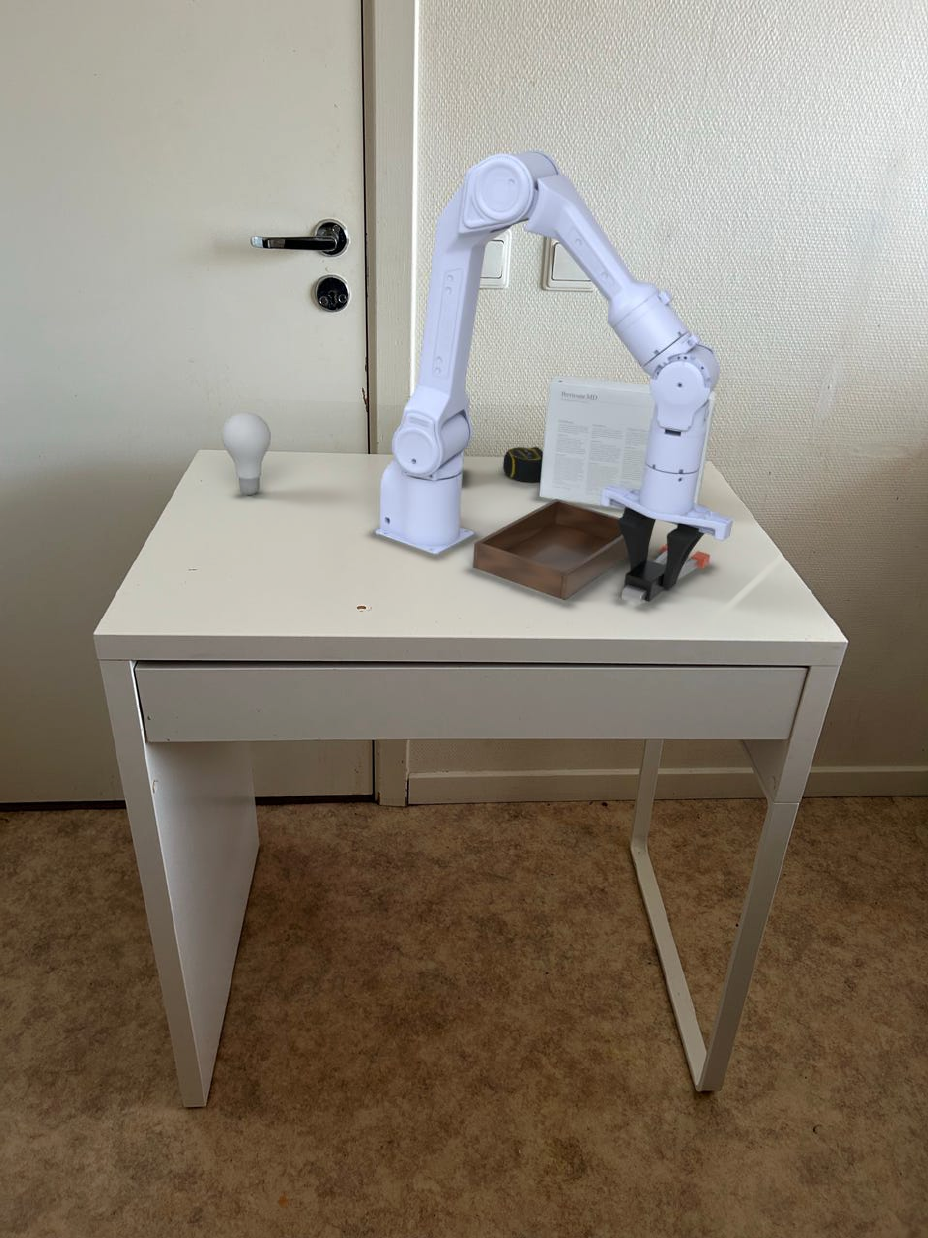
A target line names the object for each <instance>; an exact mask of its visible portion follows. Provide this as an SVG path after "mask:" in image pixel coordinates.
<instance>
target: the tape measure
mask: <svg viewBox="0 0 928 1238" xmlns="http://www.w3.org/2000/svg"><path fill="white" fill-rule="evenodd" d="M542 460H543V449H541V448H540V447H538V446H533V447H524V446H519V447H518V446H517V447H512V448H509V449H508V450H507V451H506V452H505V455H504V456H503V461H502V467H503V471H504V473H505V475H506V476H507V477H509V478H511V479H513V480H515V481H519V482H524V483H537V482H541V471H542Z"/></svg>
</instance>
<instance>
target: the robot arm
mask: <svg viewBox="0 0 928 1238" xmlns="http://www.w3.org/2000/svg"><path fill="white" fill-rule="evenodd" d="M464 175H465V177H464V180H463V182H462V183H461V184H460V186H459V188H458V189H457V191H456V192H455V193H454V195H453V196H452V197H451V199H450V201H448V203H447V205H446V206H445V207H444V208H443V210H442V212H441V213H440V215H439V216H438V219H437V224H436V230H435V237H434V238H435V239H434V246H433V254H432V255H433V256H432V263H431V271H430V279H429V287H428V294H427V303H426V311H425V319H424V326H423V328H424V329H423V336H422V344H421V351H420V360H419V369H418V377H417V385H416V388H415V389H414V391H413V393H412V394H411V395H410V398H409V399H408V401H407V402H406V404H405V406H404V408H403V411H402V419H401V421H400V424H399V426H398V428H397V429H396V430H395V432H394V434H393V436H392V439H391V451H392V455H393V458H394V459H393V460H391V462H389V463H388V464H387V466H386V467H385V469H384V470H383V473H382V475H381V478H380V483H379V528H378V529H376V530H375V535H377V536H378V535H381V536H384V537H387V538H389V539H392V540H394V541H397V542H401V543H404V544H405V545H409V546H411V547H413V548H417V549H419V550H422V551H425V552H428V553H431V554H435V555H437V554H440V553H442V552H443V551H445V550H447V549H449V548H451V547H453V546H454V545H457V544H459V543H460V542H462V541H464V540H466V539H468V538H470V537H472V536H473V535H475V532H474V531H473V530H470V529H466V528H464V527H461V526H460V525H461V509H462V491H463V489H462V488H463V480H462V470H463V471H464V464H462V452H463V451H464V452H465V451H466V450H467V448H468V447H469V446H470V444H471V443H472V439H473V425H472V421H471V417H470V403H471V400H470V397H469V395H468V393H467V391H465V389H464V387H465V381H466V382H467V373H468V367H469V359H470V354H471V346H472V339H473V334H474V328H475V327H474V326H475V320H476V312H477V306H478V301H479V294H480V286H481V280H482V272H483V267H484V260H485V253H486V247H487V245H488V244H489V243H490V242H491V241H493V240H495V239H496V238H498V237H499V236H500V235H502V234H504V233H505V232H506V231H508V230H509V229H511V227H513V226H515V225H517V224H518V225H519V224H521V223H524V222H526V224H525V225H524V227H523V231H524V232H526V233H529V234H530V233H531V234H534V235H538V236H542V237H545V238H549V239H552V240H556V241H557V242H558V243H559V244H560V245H561V246H562V247H563V249H564V250H565V251H566V252H567V254H568V255H569V256H570V257H571V258H572V260H573V261H574V262H575V263H576V265H577V266H578V267H579V268H580V269H581V271H582V272H583V273H584V275H585V276H586V277H587V278H588V279H589V281H590V282H591V283H592V284H593V285H594V287H595V288H596V289H597V291H599V292H600V294H601V295H602V296H603V298H604V299H605V300H606V301H607V303H608V312H607V323H608V325H609V326H610V328H611V329H612V330H613V332H614V333H615V334H616V336H617V337H618V338H619V340H620V341H621V342H622V344H623V345H624V346H625V348H626V349H627V351H628V352H629V353H630V355H631V356H632V357H633V359H634V360H635V361H636V363H637V364H638V366H639V367H641V370H642V371H643V372H644V373H645V374H647V375H649V376H650V377H651V378H652V379H650V380H649V385H650V391H651V395H652V397H653V399H654V401H655V406H654V413H653V418H652V419H651V424H650V430H649V437H648V444H647V451H646V458H645V464H644V471H643V477H642V484H641V490H638V489H631V488H625V487H619V486H615V485H611V484H610V485H609V486H607V487H605V488H603V489H602V494H601V502H600V505H599V506H603V507H606V508H609V507H610V508H611V506H614V507H613V508H618V509H621V510H623V513H622V516H621V517H618V518H619V520H618V526H619V528H620V530H621V532H622V535H623V537H624V540H625V543H626V546H627V550H628V554H629V556H628V559H629V560H628V561H629V566H630V571H631V570H632V569H633V568H635V567H636V566H638V565H639V564H640V563H642V562H643V561H644V560H646V559H647V560H648V556H649V549H650V543H651V539H652V534H653V530H654V528H655V523H656V520H657V521H662V522H665V523H669V524H671V525H675V526H677V527H676V528H674V529H672V530H671V531H669V532H668V533H667V534H666V544H667V562H666V563H665V565H666V568H665V573H664V578H663V588H666V589H667V590H670V589H671V588H672V587H674V586H675V585H676V584H677V582H678V581H677V579H678V576H679V574H680V571H681V569H682V567H683V565H684V564H686V561H687V559H688V558H689V556H690V554H691V553H692V552H693V550H694V548H695V547H696V545H697V544H698V543H699V542H700V540H701V539H702V538H703V536H704V535H705V534H706V535H709V536H713V539H714V540H716V541H720V542H724V541H725V540H726V539H728V538H729V537H730V536H731V532H732V527H733V522H734V519H733V518H731V517H727V516H726V515H722V514H720V513H718V512H715V511H714V510H711V509H708V508H707V507H704V506H702V505H700V504H699V503H698V504H696V503H694V498H695V492H696V486H697V481H698V475H699V469H700V464H701V459H702V453H703V447H704V442H705V436H706V431H707V422H706V420H707V418H708V414H709V403H710V400H709V399H708V398H709V395H710V394H711V392H712V391H713V392H714V389H715V388H716V386H717V385H718V382H719V378H720V373H721V368H720V363H719V360H718V358H717V356H716V355H715V351H714V349H713V348H712V347H711V346H710V345H707V344H706V343H703V342H701V341H702V339H701V337H700V336H699V335H698V333H697V331H695V332H693V333H691V331H690V330H689V329H688V327H687V326H686V324H685V323H684V322H683V321H682V319H681V318H680V316H679V315H678V314H677V313H676V310H674V308H673V307H672V305H671V304H670V303H672V302H673V301H674V297H673V295H672V294H671V293H670V291H669V290H668V289H664V290H662V291H661V290H659V288H658V287H657V285H656V284H655V283H652V282H644V281H639V280H637V279H636V278H635V277H634V275H633V274H632V272H631V271H630V269H629V267H628V266H627V265H626V263H625V262H624V260H623V259H622V257H621V256H620V254H619V253H618V251H617V250H616V248H615V246H614V245H613V244H612V241H610V238H609V237H608V236H607V234H606V233H605V232H604V230H603V228H602V226H601V225H600V224H599V222H598V221H597V218H595V216H594V215H593V213H592V212H591V210H590V208H589V207H588V205H587V204H586V203H585V201H584V199H583V198H582V196H581V195H580V192H579V191H578V189H577V187H576V185H575V183H574V182H573V181H572V180H571V179H570V178H569V177H568V176H567V175H566V174H565V173H561V170H560V168H559V166H558V164H557V162H556V161H555V160H554V159H553V158H552V157H551V156H550V155H548V154H547V153H545V152H543V151H540V150H534V149H532V150H525V151H523V152H516V153H507V152H506V153H503V152H501V153H495V154H492V155H490V156H488V157H486V158H484V159H483V160H481V161H480V162H477V164H474V166H472V167H470V168H468V169H467V170H466V171H465V174H464ZM666 589H665V590H666Z"/></svg>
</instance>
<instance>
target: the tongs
mask: <svg viewBox="0 0 928 1238" xmlns="http://www.w3.org/2000/svg"><path fill="white" fill-rule="evenodd" d="M661 547H662V548H661V552H660V555H659V556H658V557H657V558H655V560H650V559H648V558H647V559H646V560H644V561H643V562H642V563H640V564H639V565H638V566H636V567H635V568H633V569H632V570H631V569H630V570H629V571H628V572H627V573H625V578H624V585H623V589H622V592H621V599H622V600H625V601H627V602H630V603H633V604H636V605H638V606H640V605H641V604H643V603H644V602H647V603H651V601H653V600H654V599H655V598H656V597H657V596H658V595H660V594H661V593H662V592H663V591H665V590H666V588H663V578H664V573H665V568H666V563H667V543H665V544H664V545H663V546H661ZM710 558H711V554H708V553H705V552H702V551H698V550H697V551H696V552H695V553H694V554H692V555H691V559H690V560H689V561H687V562H685V563H684V565H683V567H682V569H681V571H680V574H679V576H678V579H677V582H678V581H680V580H681V579H683V578H684V577H686V576H687V575H688V574H689V573H691V572H693V571H695V570H696V569H697V568H698V569H699V568H700V569H705V568H706V567H707V566H708V565H709V564H710V560H711V559H710Z"/></svg>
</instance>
